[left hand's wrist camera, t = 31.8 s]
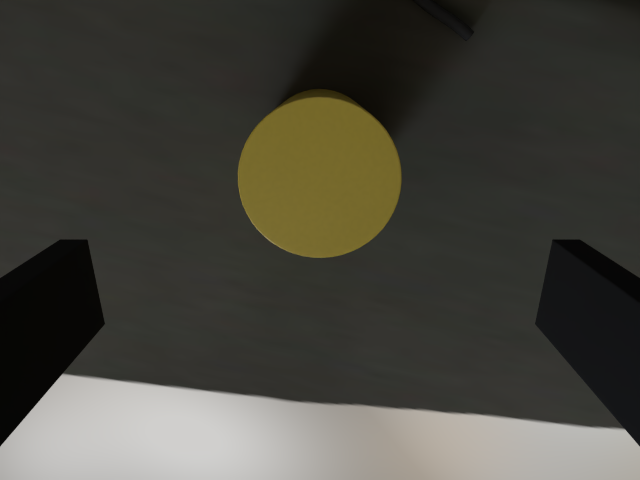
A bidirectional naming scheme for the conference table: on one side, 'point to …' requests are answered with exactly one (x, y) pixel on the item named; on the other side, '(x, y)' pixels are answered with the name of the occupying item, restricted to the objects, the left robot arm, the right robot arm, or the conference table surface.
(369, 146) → the canister
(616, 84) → the conference table surface
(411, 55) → the conference table surface
